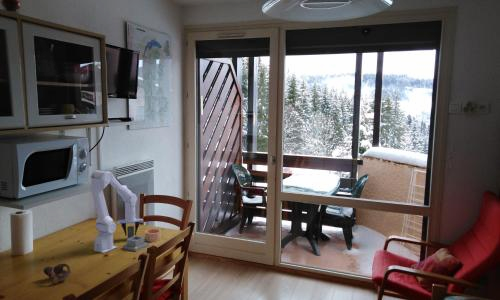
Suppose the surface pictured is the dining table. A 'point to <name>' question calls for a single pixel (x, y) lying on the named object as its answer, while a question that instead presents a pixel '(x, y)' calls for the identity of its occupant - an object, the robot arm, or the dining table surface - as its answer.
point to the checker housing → (135, 243)
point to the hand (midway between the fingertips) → (130, 234)
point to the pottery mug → (57, 272)
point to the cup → (153, 235)
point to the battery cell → (130, 231)
